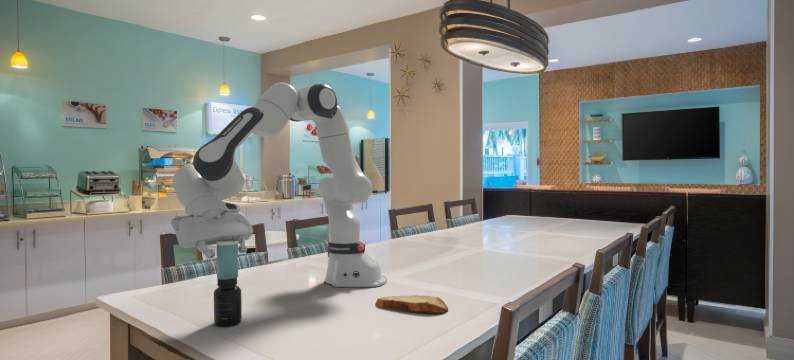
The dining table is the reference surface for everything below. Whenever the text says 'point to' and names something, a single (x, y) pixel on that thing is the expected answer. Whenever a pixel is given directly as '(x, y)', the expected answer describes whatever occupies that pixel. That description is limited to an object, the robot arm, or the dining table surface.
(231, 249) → the cup
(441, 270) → the dining table surface
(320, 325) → the dining table surface
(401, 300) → the slice of bread
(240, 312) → the supplement bottle
